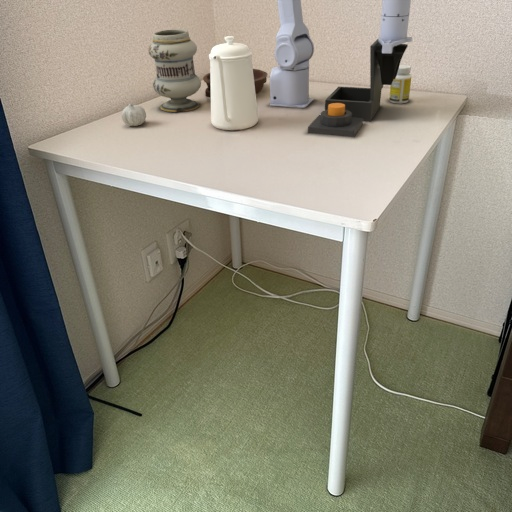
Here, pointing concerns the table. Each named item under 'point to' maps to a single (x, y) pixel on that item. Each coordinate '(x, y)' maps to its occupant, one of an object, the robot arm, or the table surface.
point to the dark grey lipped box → (355, 101)
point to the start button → (336, 109)
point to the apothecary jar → (175, 69)
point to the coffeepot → (232, 86)
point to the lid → (375, 71)
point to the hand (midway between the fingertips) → (388, 81)
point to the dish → (258, 81)
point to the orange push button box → (335, 124)
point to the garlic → (133, 115)
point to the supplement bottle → (401, 85)
